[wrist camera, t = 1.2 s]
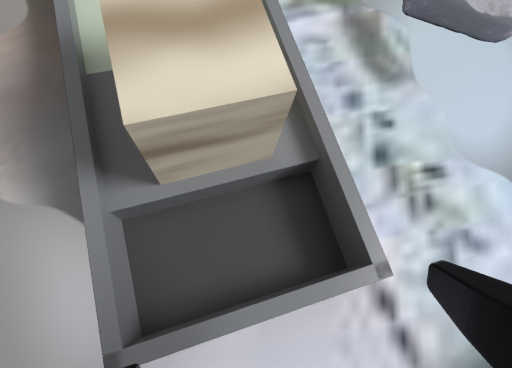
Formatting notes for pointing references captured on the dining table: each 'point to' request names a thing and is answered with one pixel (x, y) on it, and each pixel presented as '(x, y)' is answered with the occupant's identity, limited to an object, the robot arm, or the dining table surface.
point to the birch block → (198, 82)
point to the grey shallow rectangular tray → (207, 214)
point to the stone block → (466, 16)
